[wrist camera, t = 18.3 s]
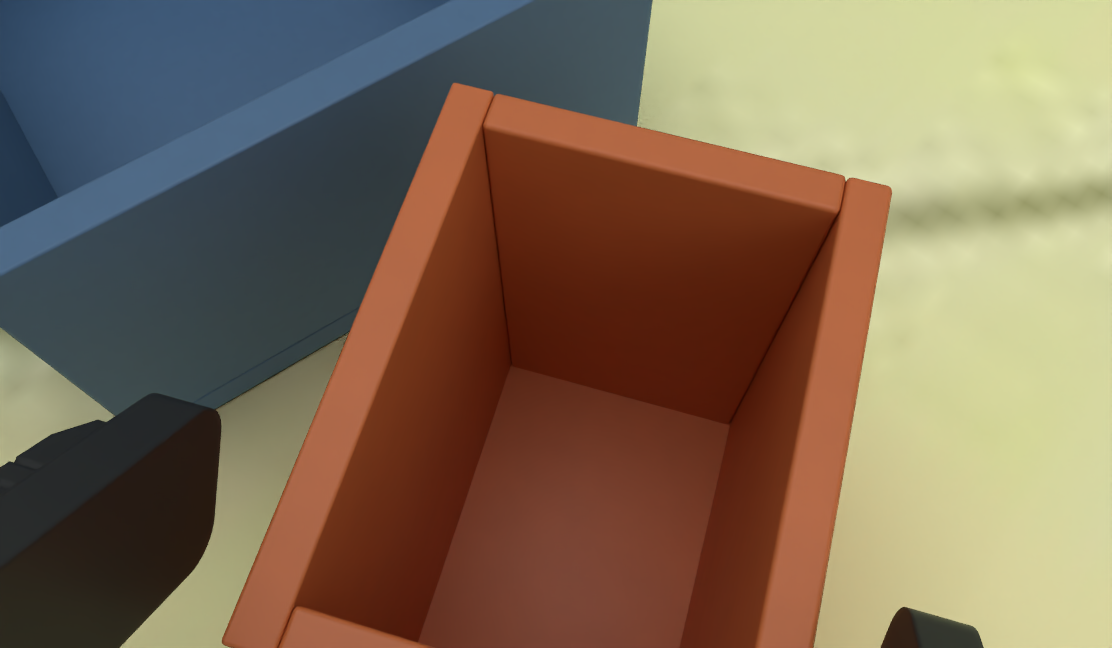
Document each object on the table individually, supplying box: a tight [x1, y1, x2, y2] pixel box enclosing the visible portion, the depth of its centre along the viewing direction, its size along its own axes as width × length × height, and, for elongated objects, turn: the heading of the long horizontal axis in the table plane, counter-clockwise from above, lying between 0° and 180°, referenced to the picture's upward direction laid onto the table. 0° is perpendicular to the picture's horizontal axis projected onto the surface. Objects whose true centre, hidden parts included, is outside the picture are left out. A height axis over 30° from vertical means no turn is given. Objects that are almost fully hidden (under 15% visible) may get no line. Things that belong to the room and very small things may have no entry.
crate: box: [222, 83, 892, 648], centre depth 15 cm, size 8×6×9 cm
